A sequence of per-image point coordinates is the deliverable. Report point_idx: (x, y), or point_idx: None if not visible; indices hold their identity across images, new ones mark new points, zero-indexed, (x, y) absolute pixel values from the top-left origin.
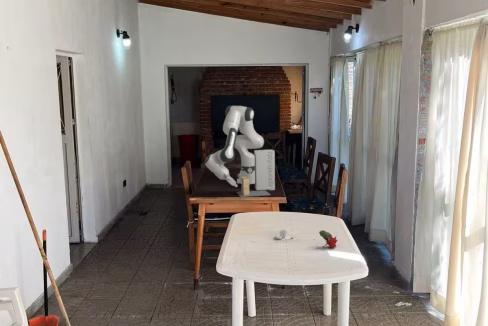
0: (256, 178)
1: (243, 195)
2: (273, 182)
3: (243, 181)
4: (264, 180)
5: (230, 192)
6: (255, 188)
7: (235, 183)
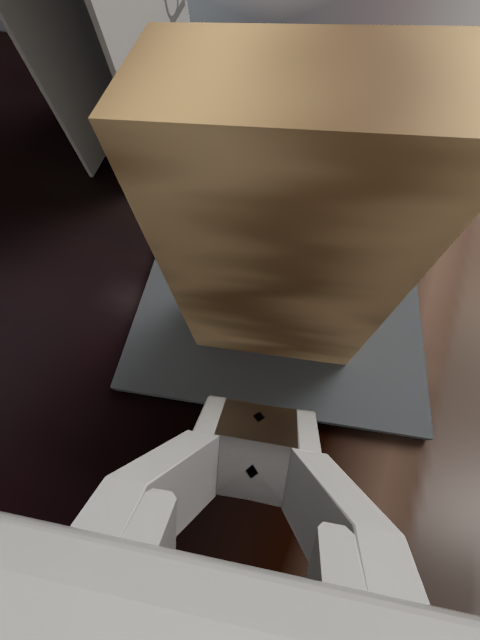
0: (97, 19)
1: (347, 371)
2: (183, 6)
3: (434, 224)
4: (149, 13)
5: (34, 460)
6: (90, 165)
7: (352, 489)
